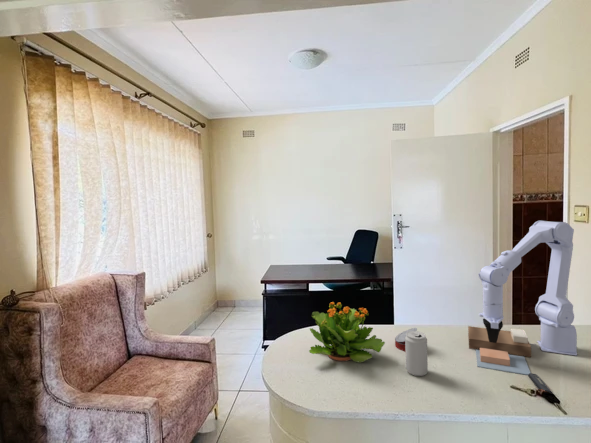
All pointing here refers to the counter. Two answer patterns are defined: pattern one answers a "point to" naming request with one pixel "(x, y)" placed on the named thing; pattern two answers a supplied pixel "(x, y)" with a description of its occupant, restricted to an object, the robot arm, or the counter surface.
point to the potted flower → (344, 335)
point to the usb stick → (538, 382)
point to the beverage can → (416, 353)
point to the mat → (516, 365)
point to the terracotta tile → (494, 356)
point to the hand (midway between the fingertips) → (492, 341)
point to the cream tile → (519, 336)
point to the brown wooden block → (504, 342)
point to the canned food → (402, 339)
